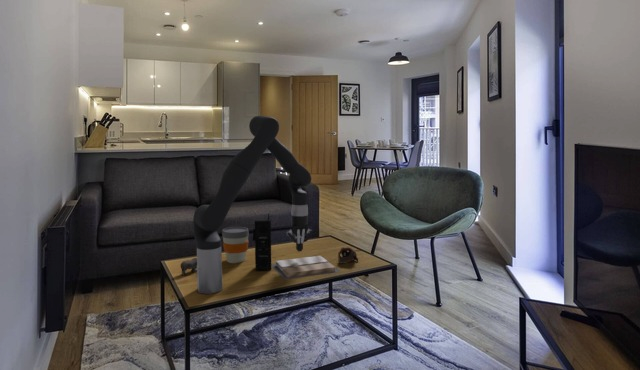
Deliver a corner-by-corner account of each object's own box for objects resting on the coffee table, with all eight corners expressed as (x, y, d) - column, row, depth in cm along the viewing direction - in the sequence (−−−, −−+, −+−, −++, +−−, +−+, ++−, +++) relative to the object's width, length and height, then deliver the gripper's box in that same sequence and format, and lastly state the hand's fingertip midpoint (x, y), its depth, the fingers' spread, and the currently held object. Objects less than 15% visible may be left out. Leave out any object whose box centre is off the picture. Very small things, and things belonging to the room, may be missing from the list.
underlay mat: (284, 280, 179) (284, 279, 179) (270, 264, 199) (270, 264, 199) (341, 272, 189) (341, 271, 189) (321, 258, 209) (321, 257, 209)
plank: (281, 271, 189) (281, 267, 189) (275, 264, 197) (275, 260, 197) (327, 265, 198) (327, 261, 197) (320, 259, 206) (320, 255, 206)
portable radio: (253, 272, 189) (252, 216, 186) (253, 267, 195) (252, 213, 192) (271, 271, 191) (270, 215, 187) (270, 266, 197) (269, 212, 193)
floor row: (287, 277, 182) (287, 273, 181) (282, 272, 188) (282, 268, 188) (335, 271, 190) (335, 267, 190) (328, 266, 196) (328, 262, 196)
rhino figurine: (208, 268, 195) (208, 255, 194) (184, 276, 184) (183, 263, 183) (202, 266, 197) (202, 253, 196) (177, 275, 186) (177, 261, 185)
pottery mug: (363, 264, 202) (358, 252, 197) (346, 275, 199) (341, 262, 195) (350, 251, 212) (346, 239, 207) (334, 261, 209) (329, 249, 205)
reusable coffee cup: (252, 256, 212) (251, 226, 210) (245, 264, 200) (244, 233, 198) (227, 256, 213) (226, 226, 211) (219, 263, 201) (218, 232, 199)
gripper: (288, 216, 191) (288, 254, 193) (316, 214, 196) (315, 251, 198) (283, 213, 198) (283, 250, 200) (310, 211, 203) (309, 247, 205)
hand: (299, 250), depth 199 cm, fingers closed
